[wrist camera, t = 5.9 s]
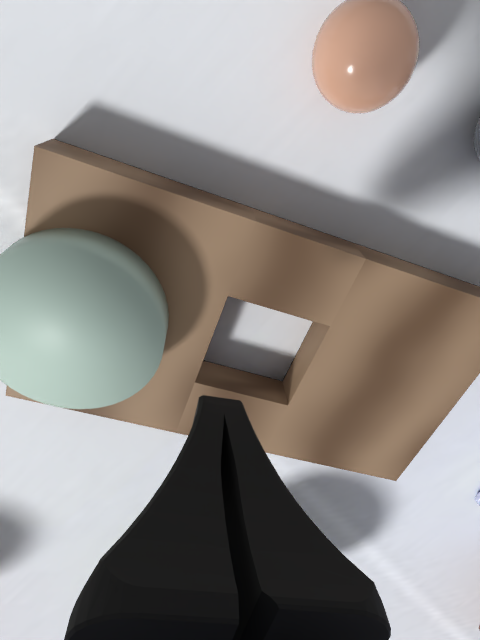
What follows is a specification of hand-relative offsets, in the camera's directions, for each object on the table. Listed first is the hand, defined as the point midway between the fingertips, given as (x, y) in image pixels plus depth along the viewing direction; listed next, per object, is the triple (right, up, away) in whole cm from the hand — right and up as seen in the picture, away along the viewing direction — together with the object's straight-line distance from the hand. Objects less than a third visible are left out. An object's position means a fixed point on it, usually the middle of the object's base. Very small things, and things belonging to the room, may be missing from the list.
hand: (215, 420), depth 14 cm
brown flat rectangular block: (+2, +3, +8) cm, 9 cm away
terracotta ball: (+5, +12, +1) cm, 13 cm away
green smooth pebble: (-6, +4, +5) cm, 9 cm away
